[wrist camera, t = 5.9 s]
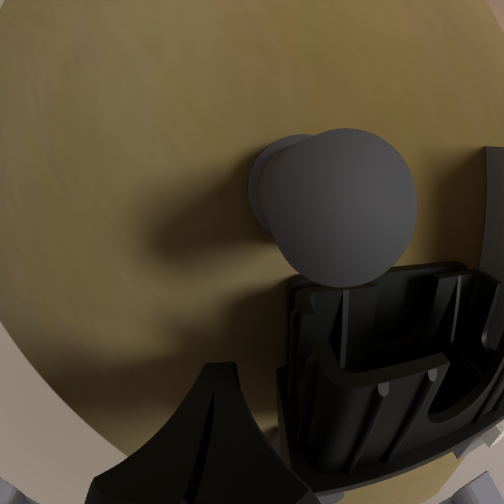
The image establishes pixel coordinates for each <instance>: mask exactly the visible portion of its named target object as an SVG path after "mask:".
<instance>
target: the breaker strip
mask: <svg viewBox="0 0 504 504" xmlns="http://www.w3.org/2000/svg"><path fill="white" fill-rule="evenodd" d="M485 147H486V170H487V190H486V213H485V225H484V235H483V244H482V251H481V258H480V264H479V271H482V272H485V273H487V274H488V275H490V276H492V277H493V278H495V279H497V280H498V281H500V282H502V286H501V290H500V293H499V297H498V300H497V304H496V307H495V310H494V313H493V316H492V319H491V322H490V325H489V328H488V331H487V341H488V344H489V346H490V347H491V348H492V349H493V350H496V349H497V346H498V344H499V341H500V339H501V337H502V334H503V331H504V147H490V146H485ZM503 436H504V420H502V421H501V422H499V423H498V424H497V425H495V426H494V427H492V428H491V429H489V430H488V431H486V432H485V433H483V434H481V435H480V436H478V437H477V438H475V439H473V440H472V441H470V442H468V443H466V444H465V445H463V446H461V447H459V448H457V449H456V450H454V451H453V452H454V454H455V456H456V458H457V459H459V458H461V457H463V456H464V455H466V454H468V453H469V452H471V451H472V450H474V449H476V448H477V447H478V446H480V445H482V444H483V443H486V444H487V446H488V447H489V448H490V447H491V446H493V445H494V444H495V443H497V442H498V441H499V440H500V439H501V438H502V437H503Z"/></svg>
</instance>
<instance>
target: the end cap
mask: <svg viewBox="0 0 504 504" xmlns="http://www.w3.org/2000/svg"><path fill="white" fill-rule="evenodd" d="M501 286H502V282H500V281H498V280H497V279H495V278H493V277H492V276H490V275H488V274H487V273H485V272H482V271H479V270H474V269H471V270H467V267H466V265H464V264H462V263H460V262H458V261H451V262H442V263H432V264H422V265H412V266H401V267H391V268H390V269H389V270H387V271H386V272H385V273H384V274H382V275H380V276H379V277H377V278H376V279H374V280H372V281H370V282H367V283H364V284H361V285H357V286H353V287H343V288H341V287H330V286H325V285H321V284H319V283H316V282H313V281H311V280H309V279H307V278H306V277H304V276H303V275H298V276H295V277H293V278H292V279H291V280H290V281H289V282H288V286H287V289H286V348H285V366H282V367H279V368H278V369H277V370H276V387H277V410H278V425H279V436H280V446H281V454H282V460H283V461H284V462H285V463H286V464H287V465H288V466H289V467H290V468H291V469H292V471H293V472H294V473H295V474H296V475H297V476H299V477H300V478H301V479H302V480H303V481H304V482H305V483H306V484H307V485H308V486H309V487H310V488H311V489H312V491H313V492H314V494H315V495H316V497H321V496H326V495H331V494H336V493H340V492H344V491H349V490H353V489H356V488H360V487H364V486H367V485H371V484H374V483H377V482H380V481H383V480H386V479H389V478H392V477H395V476H398V475H400V474H403V473H406V472H408V471H411V470H413V469H416V468H418V467H420V466H423V465H425V464H427V463H429V462H432V461H434V460H436V459H438V458H440V457H442V456H444V455H446V454H448V453H450V452H452V451H454V450H456V449H457V448H459V447H461V446H463V445H465V444H466V443H468V442H470V441H472V440H473V439H475V438H477V437H478V436H480V435H481V434H483V433H485V432H486V431H488V430H489V429H491V428H492V427H494V426H495V425H497V424H498V423H499V422H501V421H502V420H504V331H503V334H502V337H501V339H500V341H499V344H498V346H497V349H496V350H493V349H492V348H491V347H490V346H489V344H488V341H487V331H488V328H489V325H490V322H491V319H492V316H493V313H494V310H495V307H496V304H497V300H498V297H499V293H500V290H501Z"/></svg>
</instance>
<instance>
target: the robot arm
mask: <svg viewBox="0 0 504 504" xmlns="http://www.w3.org/2000/svg"><path fill="white" fill-rule="evenodd" d="M0 504H39V503H37V502H35V501H33V500H32V499H30V498H28V497H26V496H25V495H24V494H23V493H22V492H21V491H19V490H18V489H17V488H15V487H14V486H12V485H11V484H9V483H8V482H6V481H5V480H3V479H2V478H0ZM85 504H321V503H320V501H319V500H318V498H317V497H316V495H315V494H314V492H313V491H312V489H311V488H310V487H309V486H308V485H307V484H306V483H305V482H304V481H303V480H302V479H301V478H300V477H299V476H297V475H296V474H295V473H294V472H293V471H292V469H291V468H290V467H289V466H288V465H287V464H286V463H285V462H284V461H283V460H282V458H281V457H280V456H279V455H278V453H277V452H276V451H275V450H274V449H273V447H272V446H271V445H270V443H269V442H268V440H267V439H266V438H265V436H264V435H263V433H262V432H261V430H260V428H259V427H258V425H257V423H256V422H255V420H254V418H253V416H252V414H251V412H250V410H249V408H248V406H247V404H246V402H245V399H244V397H243V394H242V392H241V388H240V383H239V378H238V372H237V366H236V363H234V362H218V363H206V364H205V365H204V367H203V369H202V370H201V372H200V374H199V376H198V378H197V380H196V381H195V383H194V385H193V386H192V388H191V389H190V391H189V393H188V394H187V396H186V397H185V399H184V400H183V402H182V403H181V404H180V406H179V407H178V408H177V410H176V411H175V412H174V414H173V415H172V416H171V417H170V419H169V420H168V421H167V422H166V423H165V425H164V426H163V427H162V428H161V429H160V430H159V431H158V432H157V433H156V434H155V435H154V436H153V437H152V438H151V439H150V440H149V441H148V442H147V443H146V444H144V445H143V446H142V447H141V448H140V449H138V450H137V451H136V452H135V453H133V454H132V455H130V456H129V457H128V458H127V459H125V460H124V461H122V462H121V463H119V464H118V465H116V466H115V467H113V468H111V469H109V470H107V471H106V472H104V473H102V474H100V475H98V476H96V477H94V479H93V481H92V483H91V485H90V488H89V491H88V494H87V497H86V500H85ZM439 504H504V498H503V496H502V494H501V492H500V490H499V489H498V487H497V485H496V483H495V481H494V480H493V478H492V476H491V474H490V473H489V471H485V472H484V473H483V474H481V475H480V476H478V477H477V478H475V479H474V480H472V481H471V482H469V483H468V484H466V485H465V486H463V487H462V488H460V489H459V490H458V491H457V492H455V493H454V494H453V496H452V497H450V498H448V499H446V500H445V501H443V502H441V503H439Z"/></svg>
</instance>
